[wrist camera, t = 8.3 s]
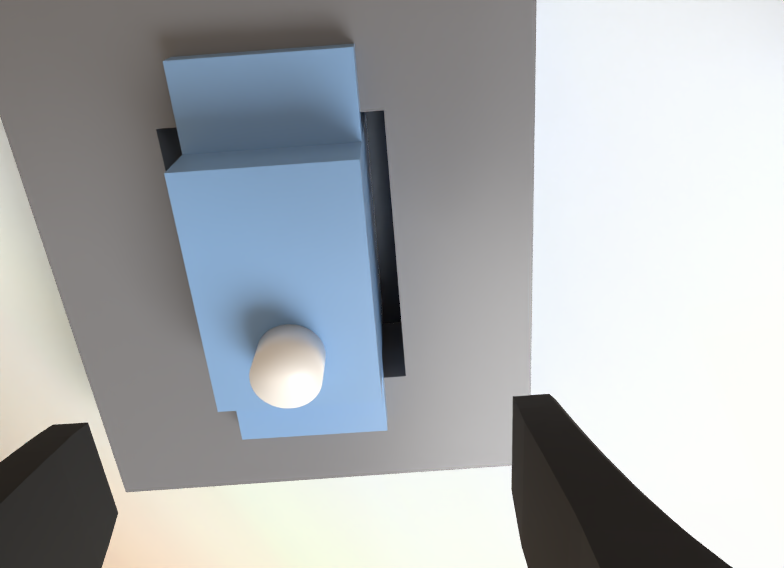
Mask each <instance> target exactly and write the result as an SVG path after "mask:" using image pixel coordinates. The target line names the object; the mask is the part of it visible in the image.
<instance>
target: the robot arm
mask: <svg viewBox="0 0 784 568" xmlns="http://www.w3.org/2000/svg"><path fill="white" fill-rule="evenodd" d="M512 495H513V501H514V506H515V512H516V518H517V523H518V529H519V534H520V540H521V545H522V549H523V552H524V556H525V559H526V563H527V566H528V568H732V567H731V566H729V565H728V564H727V563H725V562H724V561H723V560H722V559H720V558H719V557H718V556H716V555H715V554H714V553H712V552H711V551H710V550H709V549H707V548H706V547H705V546H703V545H702V544H701V543H700V542H698V541H697V540H696V539H694V538H693V537H692V536H691V535H690V534H688V533H687V532H686V531H685V530H684V529H682V528H681V527H680V526H679V525H678V524H677V523H675V522H674V521H673V520H672V519H671V518H670V517H669V516H667V515H666V514H665V513H664V512H663V511H662V510H661V509H660V508H659V507H657V506H656V505H655V504H654V503H653V502H652V501H651V500H650V499H649V498H648V497H646V496H645V495H644V494H643V493H642V492H641V491H640V490H639V489H638V488H637V487H636V486H635V485H634V484H633V483H632V482H631V481H630V480H629V479H628V478H627V477H626V476H625V475H624V474H623V473H622V472H621V471H620V470H619V469H618V468H617V467H616V466H615V465H614V464H613V463H612V462H611V461H610V460H609V459H608V458H607V457H606V456H605V455H604V454H603V453H602V452H601V451H600V450H599V448H598V447H597V446H596V445H595V444H594V443H593V442H592V441H591V440H590V439H589V438H588V436H587V435H586V434H585V433H584V432H583V431H582V430H581V429H580V428H579V426H578V425H577V424H576V423H575V422H574V421H573V420H572V418H571V417H570V416H569V415H568V414H567V413H566V411H565V410H564V409H563V408H562V407H561V405H560V404H559V403H558V402H557V401H556V400H555V399H554V398H553V397H552V396H551V395H550V394H542V395H526V396H513V416H512ZM117 515H118V511H117V508H116V505H115V502H114V499H113V496H112V493H111V490H110V487H109V484H108V481H107V478H106V475H105V472H104V469H103V466H102V463H101V460H100V457H99V454H98V451H97V448H96V445H95V443H94V440H93V437H92V434H91V431H90V428H89V425H88V423H75V424H58V425H52V426H50V427H49V428H47V429H46V430H44V431H43V432H41V433H40V434H38V435H37V436H35V437H34V438H32V439H31V440H30V441H28V442H27V443H26V444H24V445H23V446H21V447H20V448H19V449H17V450H16V451H15V452H13V453H12V454H11V455H9V456H8V457H7V458H5V459H4V460H3V461H1V462H0V568H102V565H103V561H104V558H105V555H106V552H107V549H108V546H109V543H110V539H111V536H112V532H113V529H114V525H115V522H116V518H117Z"/></svg>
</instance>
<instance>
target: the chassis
mask: <svg viewBox="0 0 784 568" xmlns="http://www.w3.org/2000/svg"><path fill="white" fill-rule="evenodd" d="M353 43H354V45H355V57H356V68H357V79H358V91H359V102H360V112H369V111H381V110H384V119H385V131H386V143H387V155H388V167H389V179H390V191H391V203H392V215H393V227H394V239H395V251H396V263H397V275H398V287H399V299H400V311H401V322H395V323H382V362H383V373H384V384H385V395H386V407H387V427H388V431H372V432H356V433H340V434H324V435H308V436H292V437H277V438H261V439H245V440H242V436H241V431H240V426H239V421H238V417H237V412H236V411H225V412H218V410H217V406H216V401H215V397H214V392H213V388H212V384H211V379H210V375H209V370H208V366H207V361H206V357H205V353H204V348H203V344H202V339H201V335H200V330H199V326H198V322H197V317H196V313H195V308H194V304H193V299H192V295H191V290H190V286H189V282H188V277H187V273H186V268H185V264H184V259H183V255H182V251H181V246H180V242H179V237H178V233H177V228H176V224H175V220H174V215H173V211H172V206H171V202H170V197H169V193H168V188H167V184H166V180H165V175H164V173H165V172H166V171H167V170H168V169H169V168H170V167H171V166H172V165H173V164H174V163H175V162H176V161H177V160H178V159H179V158H180V157H181V156H182V151H181V146H180V141H179V136H178V132H177V127H176V122H175V117H174V113H173V108H172V103H171V98H170V94H169V89H168V84H167V79H166V75H165V70H164V65H163V61H164V60H166V59H168V58H170V57H177V56H191V55H204V54H218V53H231V52H245V51H258V50H272V49H285V48H299V47H313V46H326V45H340V44H353ZM535 57H536V0H0V117H1V120H2V123H3V126H4V129H5V132H6V135H7V138H8V141H9V144H10V147H11V150H12V153H13V156H14V158H15V161H16V164H17V167H18V170H19V173H20V176H21V179H22V182H23V185H24V188H25V191H26V194H27V197H28V200H29V203H30V206H31V209H32V212H33V215H34V218H35V221H36V224H37V227H38V230H39V233H40V236H41V239H42V242H43V245H44V248H45V251H46V254H47V257H48V260H49V263H50V266H51V269H52V272H53V275H54V278H55V281H56V284H57V287H58V290H59V293H60V296H61V299H62V302H63V305H64V308H65V311H66V314H67V317H68V320H69V323H70V326H71V329H72V332H73V335H74V338H75V341H76V344H77V347H78V350H79V353H80V356H81V359H82V362H83V365H84V368H85V371H86V374H87V377H88V380H89V383H90V386H91V389H92V392H93V395H94V398H95V401H96V404H97V407H98V410H99V413H100V416H101V419H102V422H103V425H104V428H105V431H106V434H107V437H108V440H109V443H110V446H111V449H112V452H113V455H114V458H115V461H116V464H117V467H118V470H119V473H120V476H121V479H122V482H123V485H124V488H125V490H126V492H136V491H151V490H165V489H179V488H194V487H208V486H222V485H237V484H251V483H266V482H280V481H294V480H309V479H323V478H338V477H352V476H366V475H381V474H395V473H409V472H424V471H438V470H453V469H467V468H481V467H496V466H510V465H512V416H513V396H526V395H530V392H531V325H532V258H533V191H534V124H535Z"/></svg>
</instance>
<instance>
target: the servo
mask: <svg viewBox="0 0 784 568" xmlns="http://www.w3.org/2000/svg"><path fill="white" fill-rule="evenodd" d="M163 65H164V70H165V75H166V79H167V84H168V89H169V94H170V98H171V103H172V108H173V113H174V117H175V122H176V127H177V132H178V136H179V141H180V146H181V151H182V156H181V157H180V158H179V159H178V160H177V161H176V162H175V163H174V164H173V165H172V166H171V167H170V168H169V169H168V170H167V171H166V172H165V173H164V175H165V180H166V184H167V188H168V193H169V197H170V202H171V206H172V211H173V215H174V220H175V224H176V228H177V233H178V237H179V242H180V246H181V251H182V255H183V259H184V264H185V268H186V273H187V277H188V282H189V286H190V290H191V295H192V299H193V304H194V308H195V313H196V317H197V322H198V326H199V330H200V335H201V339H202V344H203V348H204V353H205V357H206V361H207V366H208V370H209V375H210V379H211V384H212V388H213V392H214V397H215V401H216V406H217V410H218V412H225V411H236V412H237V417H238V421H239V426H240V431H241V436H242V440H245V439H261V438H277V437H292V436H308V435H324V434H340V433H356V432H372V431H388V427H387V407H386V395H385V384H384V373H383V362H382V297H381V285H380V273H379V261H378V250H377V238H376V226H375V214H374V203H373V191H372V179H371V167H370V156H369V144H368V132H367V120H366V112H360V102H359V91H358V79H357V68H356V57H355V45H354V43H353V44H340V45H326V46H313V47H299V48H285V49H272V50H258V51H245V52H231V53H218V54H204V55H191V56H177V57H170V58H168V59H166V60H164V61H163Z"/></svg>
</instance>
